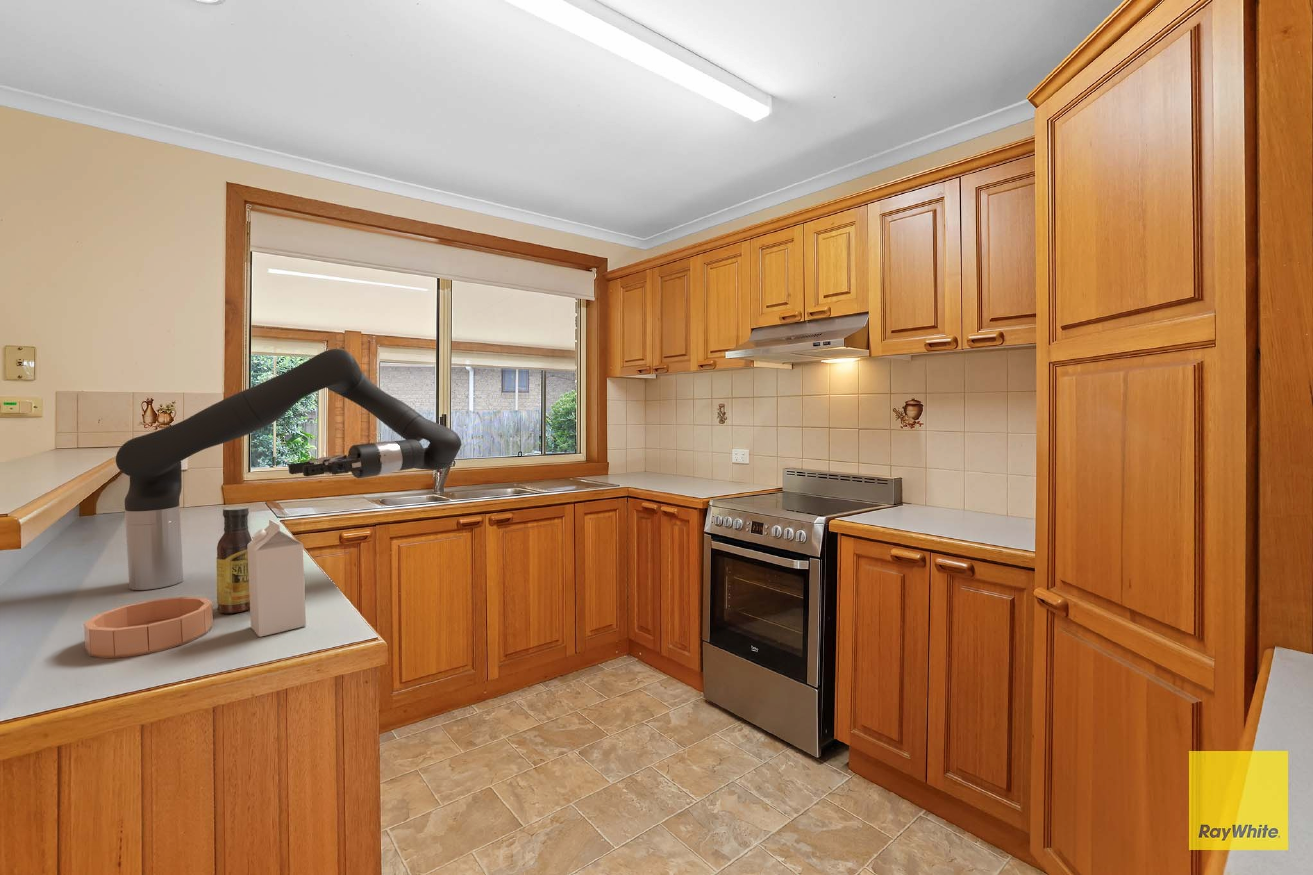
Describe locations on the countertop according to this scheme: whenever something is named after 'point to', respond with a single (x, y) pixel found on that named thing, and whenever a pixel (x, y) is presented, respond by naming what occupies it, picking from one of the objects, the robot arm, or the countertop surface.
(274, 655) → the countertop surface
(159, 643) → the terracotta bowl
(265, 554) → the milk carton
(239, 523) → the sauce bottle
